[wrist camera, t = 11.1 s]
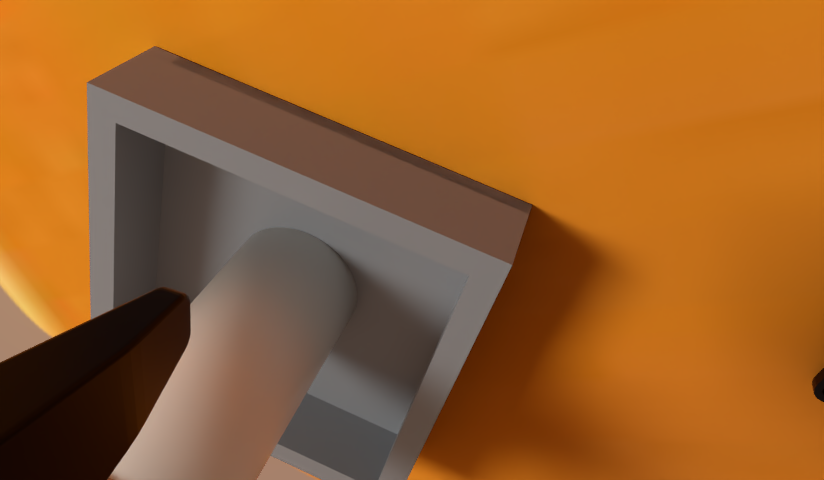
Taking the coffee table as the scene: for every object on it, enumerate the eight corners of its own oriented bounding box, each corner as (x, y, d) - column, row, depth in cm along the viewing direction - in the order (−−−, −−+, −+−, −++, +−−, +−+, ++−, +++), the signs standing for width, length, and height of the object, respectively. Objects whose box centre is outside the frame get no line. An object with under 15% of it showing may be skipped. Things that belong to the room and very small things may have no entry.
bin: (532, 204, 23) (511, 265, 20) (415, 446, 31) (390, 511, 29) (154, 46, 24) (86, 82, 21) (141, 320, 33) (91, 372, 30)
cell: (311, 209, 25) (42, 544, 14) (381, 317, 27) (190, 685, 16) (214, 247, 28) (-78, 555, 17) (284, 343, 29) (62, 676, 19)
